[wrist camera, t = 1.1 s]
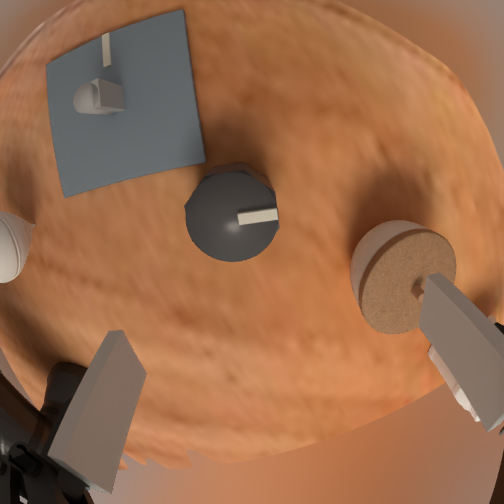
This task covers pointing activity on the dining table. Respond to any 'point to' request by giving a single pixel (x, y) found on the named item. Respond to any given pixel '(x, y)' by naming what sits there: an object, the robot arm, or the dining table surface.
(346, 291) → the dining table surface
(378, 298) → the lidded jar
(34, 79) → the dining table surface
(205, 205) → the knob
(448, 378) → the jar
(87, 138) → the shaft plate
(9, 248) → the spinning top
